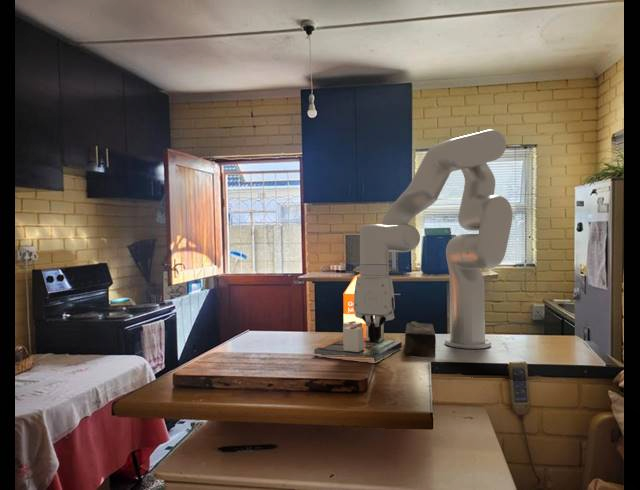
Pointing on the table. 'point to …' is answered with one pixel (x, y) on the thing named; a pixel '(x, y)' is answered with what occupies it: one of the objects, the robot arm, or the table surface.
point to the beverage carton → (420, 340)
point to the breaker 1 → (353, 338)
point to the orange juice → (351, 305)
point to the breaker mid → (352, 324)
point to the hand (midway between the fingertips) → (374, 341)
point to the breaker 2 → (381, 332)
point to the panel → (370, 350)
